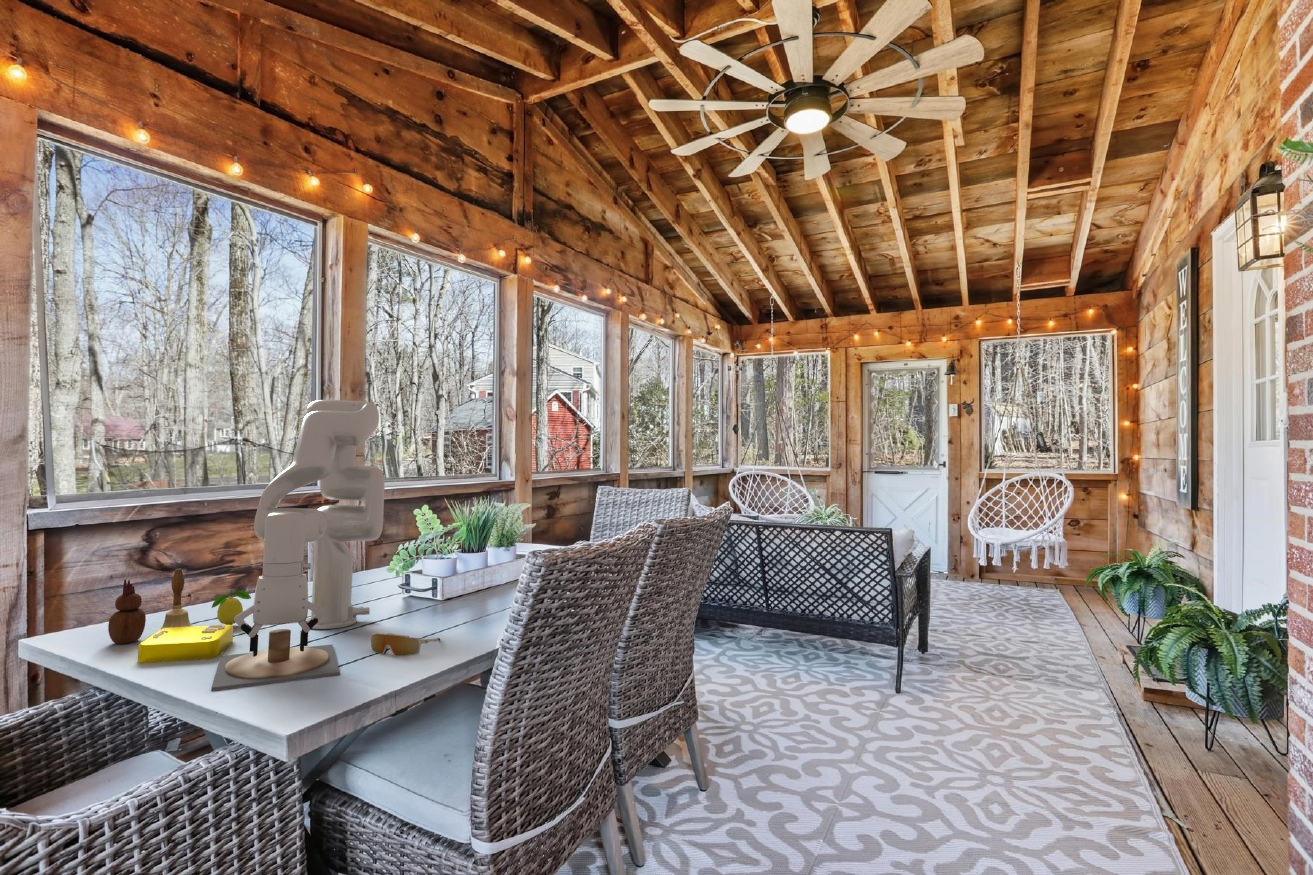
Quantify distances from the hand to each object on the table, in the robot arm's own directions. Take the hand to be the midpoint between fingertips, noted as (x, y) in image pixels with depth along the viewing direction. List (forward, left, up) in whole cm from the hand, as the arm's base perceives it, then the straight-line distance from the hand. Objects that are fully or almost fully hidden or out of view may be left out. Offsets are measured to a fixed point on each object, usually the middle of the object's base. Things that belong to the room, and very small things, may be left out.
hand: (278, 651), depth 139 cm
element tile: (+18, -20, -4) cm, 27 cm away
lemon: (+11, -41, -3) cm, 43 cm away
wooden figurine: (+31, -34, -3) cm, 46 cm away
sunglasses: (-26, -5, -4) cm, 27 cm away
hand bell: (+22, -38, -3) cm, 44 cm away
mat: (0, 0, -3) cm, 3 cm away
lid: (0, 0, -2) cm, 2 cm away
